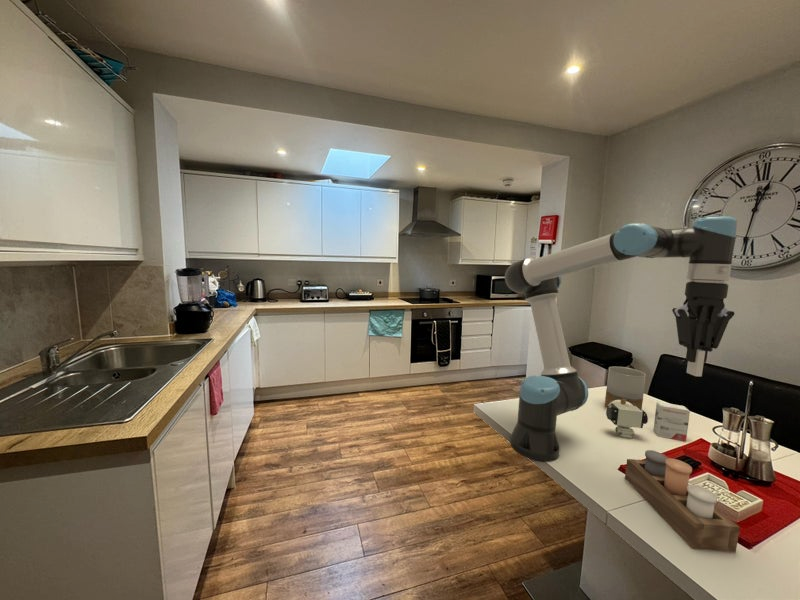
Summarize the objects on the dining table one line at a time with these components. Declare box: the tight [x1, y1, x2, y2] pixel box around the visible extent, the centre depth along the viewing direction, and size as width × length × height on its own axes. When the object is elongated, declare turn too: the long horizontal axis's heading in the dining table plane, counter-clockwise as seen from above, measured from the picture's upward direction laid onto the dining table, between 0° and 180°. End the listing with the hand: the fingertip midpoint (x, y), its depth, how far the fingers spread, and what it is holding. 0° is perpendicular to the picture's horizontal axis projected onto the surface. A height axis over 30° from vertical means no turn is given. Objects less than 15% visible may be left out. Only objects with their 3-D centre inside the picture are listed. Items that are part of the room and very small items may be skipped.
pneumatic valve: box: [605, 402, 649, 439], centre depth 115 cm, size 6×12×12 cm, turn 79°
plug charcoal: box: [644, 449, 669, 477], centre depth 86 cm, size 5×5×9 cm
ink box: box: [653, 401, 691, 443], centre depth 116 cm, size 9×5×12 cm, turn 65°
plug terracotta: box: [664, 457, 693, 496], centre depth 79 cm, size 5×5×9 cm
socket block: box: [624, 458, 741, 553], centre depth 80 cm, size 9×23×6 cm, turn 176°
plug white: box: [686, 484, 718, 519], centre depth 72 cm, size 5×5×9 cm
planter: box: [604, 366, 647, 410], centre depth 136 cm, size 13×13×18 cm
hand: (693, 374), depth 80 cm, fingers closed
